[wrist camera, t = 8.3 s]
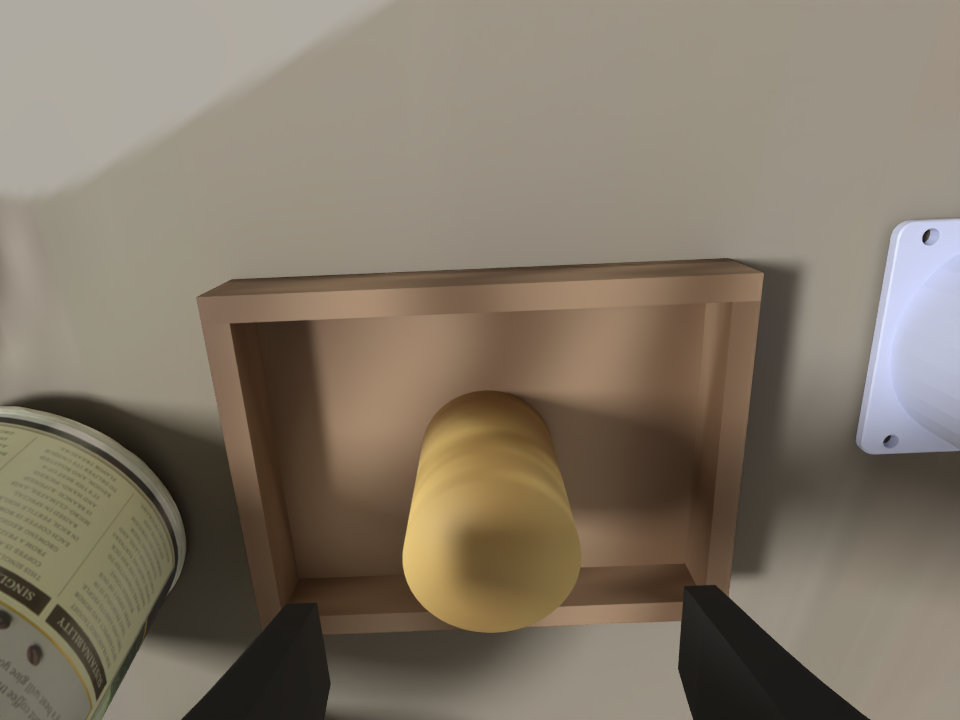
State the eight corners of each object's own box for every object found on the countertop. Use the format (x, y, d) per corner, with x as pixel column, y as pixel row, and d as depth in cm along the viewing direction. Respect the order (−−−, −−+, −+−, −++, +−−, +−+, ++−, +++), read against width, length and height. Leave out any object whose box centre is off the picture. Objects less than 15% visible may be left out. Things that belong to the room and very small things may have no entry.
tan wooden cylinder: (567, 405, 20) (603, 501, 15) (533, 518, 22) (555, 645, 16) (436, 378, 20) (421, 465, 14) (411, 494, 21) (387, 616, 16)
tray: (727, 258, 19) (763, 272, 17) (699, 570, 23) (726, 619, 21) (231, 279, 19) (196, 297, 17) (285, 586, 23) (262, 637, 21)
